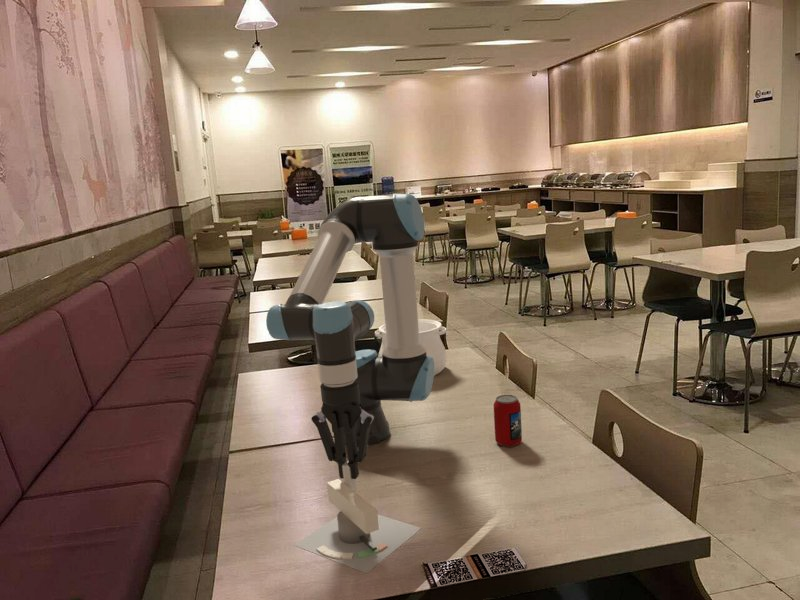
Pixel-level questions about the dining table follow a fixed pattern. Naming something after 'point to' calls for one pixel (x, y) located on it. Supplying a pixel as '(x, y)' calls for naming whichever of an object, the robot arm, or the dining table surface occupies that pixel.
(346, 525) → the rotary bar knob
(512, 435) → the beverage can
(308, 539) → the tuner board
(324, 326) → the robot arm
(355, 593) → the dining table surface
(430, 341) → the pot
